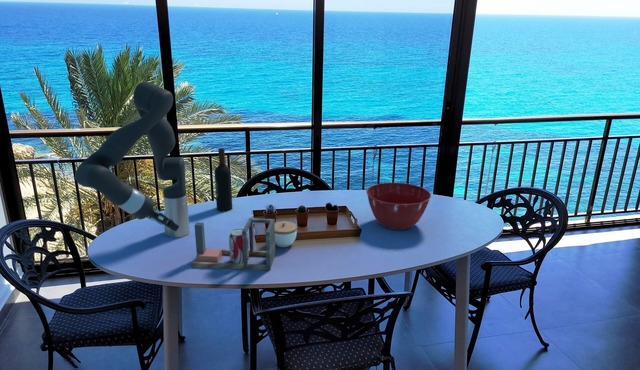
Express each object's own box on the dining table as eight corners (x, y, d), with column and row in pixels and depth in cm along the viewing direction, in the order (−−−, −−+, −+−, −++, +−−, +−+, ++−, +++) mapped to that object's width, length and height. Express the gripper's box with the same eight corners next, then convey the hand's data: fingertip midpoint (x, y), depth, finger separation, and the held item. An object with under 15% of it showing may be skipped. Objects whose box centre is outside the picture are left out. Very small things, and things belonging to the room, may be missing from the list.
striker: (195, 262, 166) (192, 227, 161) (200, 254, 171) (198, 220, 167) (217, 263, 165) (215, 228, 161) (222, 255, 171) (220, 221, 166)
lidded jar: (272, 237, 187) (272, 217, 185) (297, 238, 187) (297, 217, 184) (268, 249, 177) (268, 227, 174) (295, 250, 177) (295, 228, 174)
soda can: (245, 266, 164) (244, 236, 160) (227, 264, 165) (225, 234, 161) (251, 257, 170) (250, 228, 167) (234, 255, 172) (233, 227, 168)
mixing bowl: (400, 243, 184) (403, 208, 180) (351, 222, 205) (353, 190, 200) (440, 225, 202) (444, 193, 197) (391, 208, 223) (393, 178, 218)
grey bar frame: (191, 266, 163) (188, 229, 158) (201, 251, 174) (198, 216, 170) (270, 270, 162) (269, 232, 157) (275, 254, 173) (274, 219, 168)
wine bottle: (224, 212, 213) (221, 151, 204) (213, 209, 217) (209, 149, 207) (235, 207, 219) (232, 148, 210) (224, 204, 223) (221, 146, 214)
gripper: (153, 198, 140) (188, 221, 152) (131, 188, 149) (165, 211, 160) (139, 218, 138) (175, 240, 149) (117, 207, 146) (153, 228, 158)
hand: (170, 225), depth 155 cm, fingers open, 8 cm apart
